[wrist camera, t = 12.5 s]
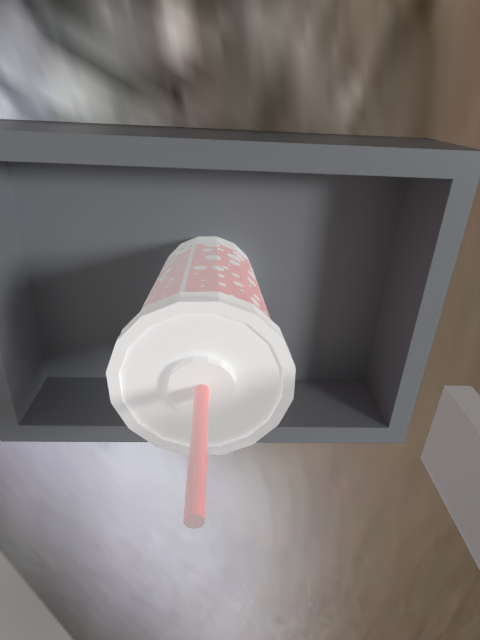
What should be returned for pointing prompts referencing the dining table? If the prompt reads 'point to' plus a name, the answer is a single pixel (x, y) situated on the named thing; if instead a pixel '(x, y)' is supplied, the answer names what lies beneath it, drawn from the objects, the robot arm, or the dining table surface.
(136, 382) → the beverage cup
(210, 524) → the dining table surface
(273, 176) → the box
